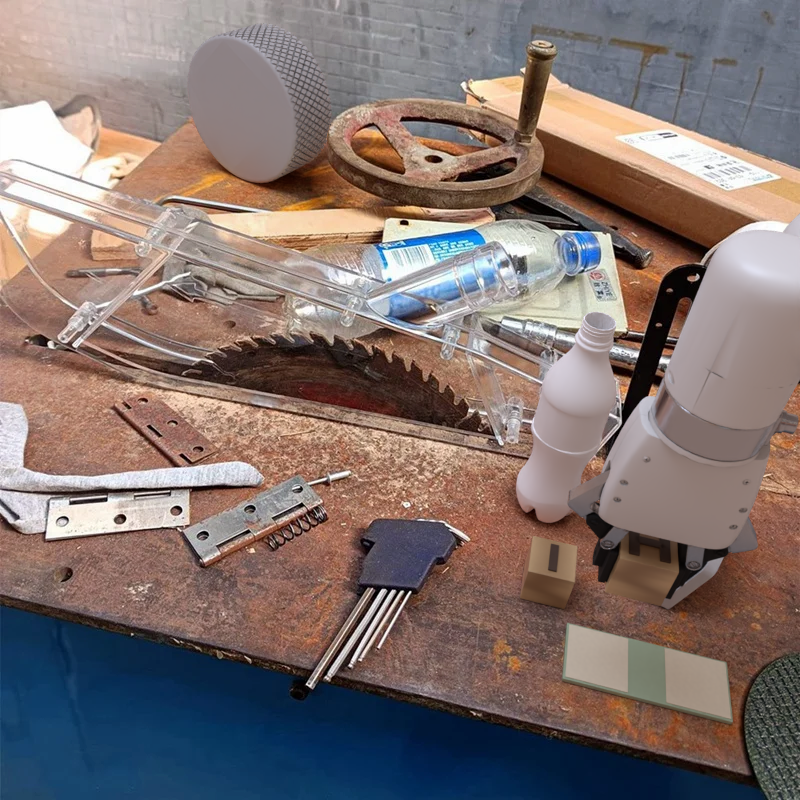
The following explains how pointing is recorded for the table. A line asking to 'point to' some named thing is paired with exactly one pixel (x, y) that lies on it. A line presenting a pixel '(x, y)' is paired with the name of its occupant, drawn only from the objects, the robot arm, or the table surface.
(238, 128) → the knob
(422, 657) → the table surface
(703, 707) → the word board
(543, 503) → the water bottle
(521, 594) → the tile
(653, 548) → the tile
